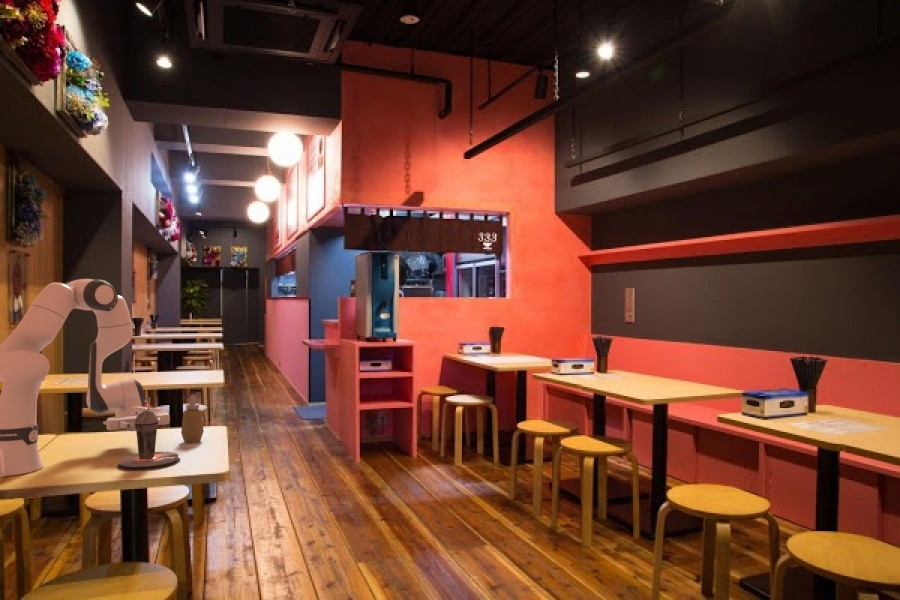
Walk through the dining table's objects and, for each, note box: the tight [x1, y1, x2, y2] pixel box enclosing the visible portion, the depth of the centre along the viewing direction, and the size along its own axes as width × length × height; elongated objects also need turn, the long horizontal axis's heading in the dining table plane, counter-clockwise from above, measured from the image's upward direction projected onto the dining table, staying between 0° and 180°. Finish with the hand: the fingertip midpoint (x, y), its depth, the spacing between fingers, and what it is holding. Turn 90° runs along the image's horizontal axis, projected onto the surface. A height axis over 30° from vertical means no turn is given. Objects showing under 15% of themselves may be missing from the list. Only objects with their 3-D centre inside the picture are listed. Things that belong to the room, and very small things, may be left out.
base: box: [116, 457, 181, 472], centre depth 211 cm, size 19×19×1 cm
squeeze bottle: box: [180, 394, 205, 444], centre depth 244 cm, size 8×8×18 cm
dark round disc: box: [118, 451, 179, 469], centre depth 211 cm, size 18×18×1 cm
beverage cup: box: [134, 397, 159, 459], centre depth 210 cm, size 7×7×20 cm
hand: (142, 424), depth 219 cm, fingers open, 8 cm apart
